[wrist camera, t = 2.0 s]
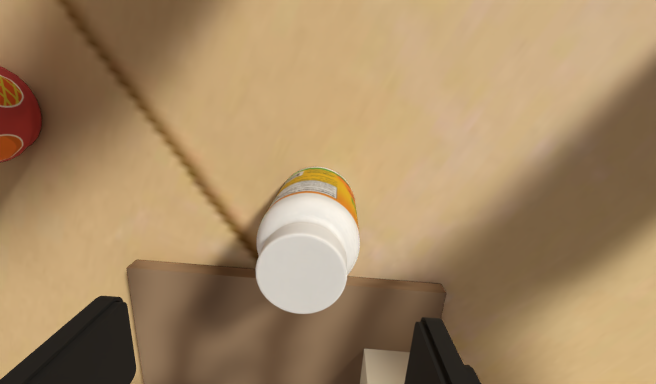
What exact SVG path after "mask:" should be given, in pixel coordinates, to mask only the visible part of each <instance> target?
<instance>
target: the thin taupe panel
mask: <svg viewBox="0 0 656 384" xmlns="http://www.w3.org/2000/svg"><path fill="white" fill-rule="evenodd" d="M127 274H128V281H129V287H130V294H131V301H132V307H133V314H134V321H135V327H136V334H137V341H138V347H139V354H140V361H141V368H142V374H143V381H144V384H360V378H361V370H362V362H363V354H364V349H376V350H388V351H400V352H410V349H411V343H412V338H413V332H414V326H415V323H416V322H420V321H421V318H422V317H428V318H440V319H441V315H442V311H443V306H444V301H445V297H446V292H445V290H444V288H443V286H442V284H437V283H424V282H411V281H399V280H386V279H374V278H361V277H348V276H347V281H346V285H345V288H344V290H343V292H342V294H341V296H340V297H339V298H338V299H337V300H336V301H335V302H334V303H333V304H332V305H331V306H329V307H328V308H326V309H324V310H321V311H318V312H315V313H310V314H296V313H291V312H288V311H285V310H282V309H280V308H278V307H277V306H275V305H273V304H272V303H271V302H270V301H269V300H268V299H267V298H266V297H265V296H264V295H263V293H262V292H261V290H260V288H259V286H258V284H257V280H256V269H247V268H235V267H222V266H209V265H197V264H184V263H171V262H159V261H146V260H136V261H134V262H133V263H132V264H131V265H129V266H128V267H127Z"/></svg>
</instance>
